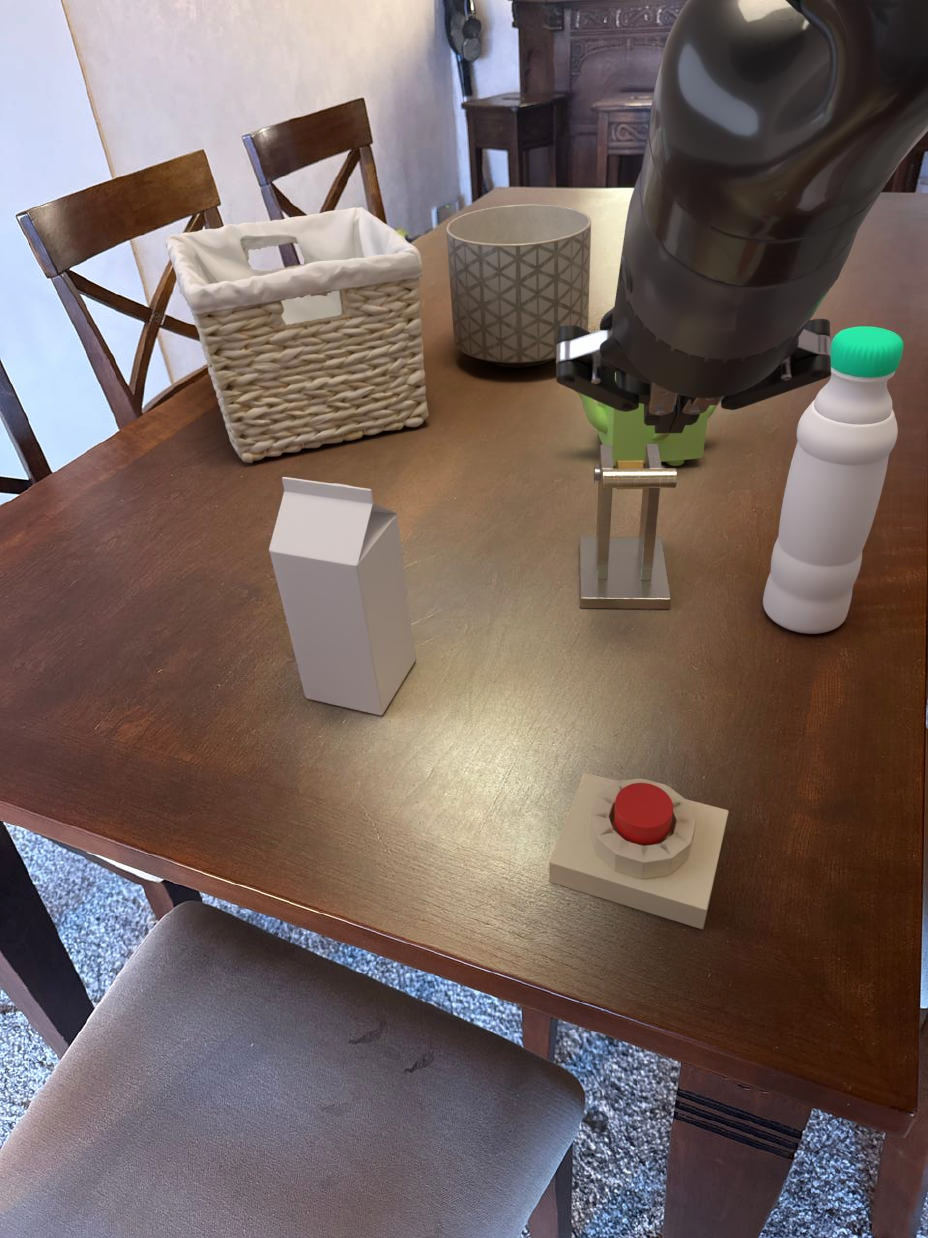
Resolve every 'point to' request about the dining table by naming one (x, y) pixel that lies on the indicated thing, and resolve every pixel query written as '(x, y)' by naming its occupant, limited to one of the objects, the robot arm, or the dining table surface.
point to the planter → (518, 280)
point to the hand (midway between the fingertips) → (667, 416)
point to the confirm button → (643, 813)
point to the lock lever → (637, 476)
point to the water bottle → (834, 484)
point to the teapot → (644, 434)
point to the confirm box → (640, 854)
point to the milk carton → (343, 593)
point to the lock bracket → (624, 551)
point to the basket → (307, 329)
